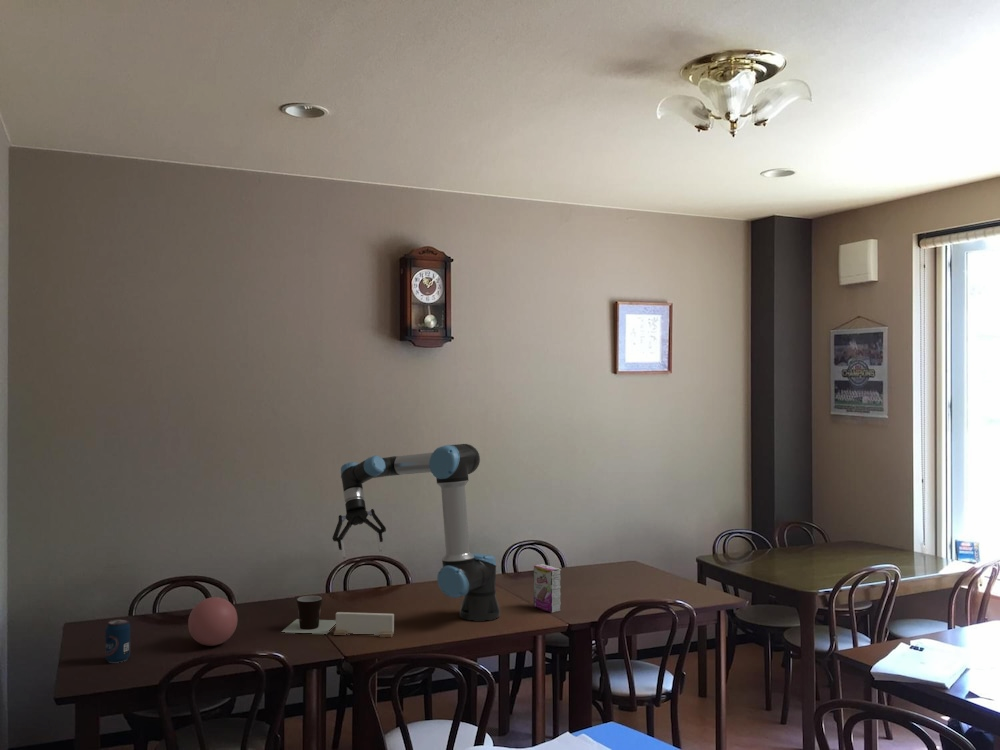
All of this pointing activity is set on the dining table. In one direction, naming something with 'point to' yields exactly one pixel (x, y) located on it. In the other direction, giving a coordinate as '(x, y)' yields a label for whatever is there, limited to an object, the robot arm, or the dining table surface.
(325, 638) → the dining table surface
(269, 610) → the dining table surface
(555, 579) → the candy bar box
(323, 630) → the mat
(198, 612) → the balloon
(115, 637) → the soda can
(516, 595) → the dining table surface
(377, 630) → the white rectangular block
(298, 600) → the coffee mug
